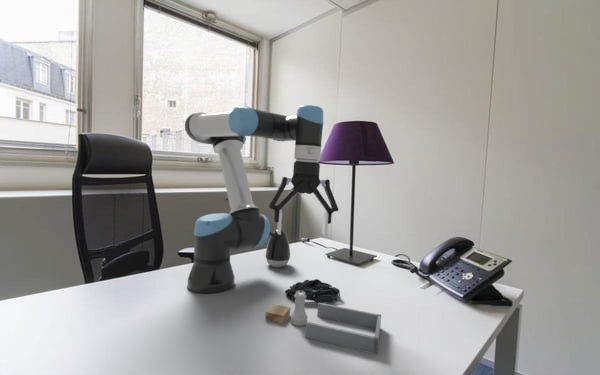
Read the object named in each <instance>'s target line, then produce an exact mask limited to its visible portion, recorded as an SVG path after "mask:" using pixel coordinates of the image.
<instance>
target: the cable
mask: <svg viewBox="0 0 600 375" xmlns="http://www.w3.org/2000/svg"><path fill="white" fill-rule="evenodd" d="M308 288H312V289H317V290H312V289H308ZM296 291H300V292H302V291H304V292H305V295H306V296H307V297H306V298H305V301H312V302H314V303H316V304H318V303H324V304H331V303H334V302H335V301H338V299H339V298H340V297H341V294H340V289H339V288H338V287H335V286H332V285H331V284H330V283H327V282H322V280H320V279H317V278H315V279H312V280H309V279H304V281H303V282H302V281H301V282H300V281H299V282H296V283H295V284H293V285H291V286H289V288H287V289H285V295H290V298H291V299H292V300H294V301H295V300H296V298H295V297H294V295H295V294H296ZM304 292H303V293H304Z"/></svg>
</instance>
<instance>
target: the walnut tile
mask: <svg viewBox="0 0 600 375" xmlns="http://www.w3.org/2000/svg"><path fill="white" fill-rule="evenodd" d="M289 317H291V307H290V306H285V305H281V304H276V303H273V304H272V305H271V306H270V307H269V308H268V309H267V310H265V321H269V322H273V323H277V324H282V325H284V324H285V322H286V321H287V320H288V319H289Z"/></svg>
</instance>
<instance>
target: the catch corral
mask: <svg viewBox="0 0 600 375" xmlns="http://www.w3.org/2000/svg"><path fill="white" fill-rule="evenodd" d="M317 317H319V318H324V319H330V320H333V321H334V320H335V321H339V322H344V323H347V324H348V323H349V324H354V325H358V326H363V327H365V328H366V327H368V328H371V329H375V332H374V336H373V335H368V334H364V333H360V332H355V331H353V330H352V331H351V330H347V329H342V328H337V327H333V326H328V325H324V324H319V323H315V322H311V321H307V322H306V324H305V327H304V328H305V331H304V337H305V338H307V339H312V340H316V341H319V342H323V343H328V344H331V345H336V346H340V347H344V348H348V349H353V350H356V351H361V352H364V353H368V354H373V355H378V350H379V343H380V341H379V340H380V334H381V333H380V332H381V324H382V314H378V313H374V312H369V311H364V310H359V309H353V308H348V307H344V306H337V305H333V304H330V303H317Z"/></svg>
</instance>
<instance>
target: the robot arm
mask: <svg viewBox="0 0 600 375" xmlns="http://www.w3.org/2000/svg"><path fill="white" fill-rule="evenodd" d="M323 127H324V110H323V108H322V107H321V106H317V105H310V104H304V105H303V104H302V105H300V106H298V107H297V112H296V114H295V115H284V114H280V113H279V114H278V113H274V112H269V111H264V110H259V109H256V108H253V107H249V106H240V105H237V106H235V107H234V108H233V109H232V110H231V111H226V112H218V113H207V112H202V111H201V112H199V111H198V112H194V113H191V114H190V115H188V116H187V118H186V119H185V122H184V129H185V130H184V131H185V133H186V135H187V136H188V137H189V138H190V139H191V140H192V141H195V142H197V143H200V144H205V145H212V147H213V152H214V153H215V154H217V155H218V156H219V162H220V166H221V170H222V175H223V179H224V183H225V184H224V186H225V189H226V194H227V198H228V203H229V208H230V211H229V213H224V212H223V213H222V212H221V213H209V214H205V215H203V216H200V217H199V218H197V220H196V221H195V225H194V231H193V234H194V244H193V246H194V250H193V264H192V267H191V269H190V272H189V276H188V278H187V288H188V290H190V291H192V292H194V293H199V294H215V293H221V292H225V291H229V290H230V289H231V288H233V287H234V285H235V280H236V279H235V274H234V269H233V266H232V264H231V263H232V262H231V252H234V251H238V250H239V251H240V250H244V249H245V250H246V249H250V248H251V249H254V248H257V247H260V246H263V245H265V244H266V242H267V241H268V240H269V236H270V235H269V233H270V232H271V225H270V221H269V219H268V217H267V216H266V215H265V214H261V212H260V209H259V207H258V206H256V205H255V204H254V200H253V197H252V193H251V188H250V183H249V180H248V176H247V172H246V167H245V164H244V159H243V156H242V152H241V150H242V149H243V147H244V144H245V142H246V138H247V137H256V138H263V139H269V140H273V141H276V142H289V141H290V142H291V141H293V142H294V141H295V142H294V155H293V156H294V160H295V161H294V162H293V169H292V170H293V171H292V172H293V174H292V177H286V176H282V177H281V182H280V185H279V186H278V188H277V190H276V191H275V194H273V197H272V198H271V200H270V201H269V203H268V207H269V209H271V210H273V211H274V217H273V220H274V223H277V226H276V228H277V229H276V230H277V233H278V234H281V230H282V220H283V219H282V218H283V211H282V208H284V206H285V205H286V204H287V203H288V202H289V201H290V200H291V199H292V198H293V197H294V196H295V195H296V194H297V193H299V194H309V195H311V194H313V195H314V196H315V197H316V198H317V200H318V201H319V203H320V204H321V205H322V207H323V208H324V209H325V211H323V216H322V230H321V234H322V235H323V236H328V227H329V226H328V225H331V223H332V215H333V213H335V212H338V211H339V206H338V205H337V202H336V199H335V196H334V194H333V192H332V189H331V185H330V184H331V180H329V179H327V178H324V179H320V170H321V169H320V168H321V164H320V161H321V156H322V155H321V153H322V139H323V138H322V137H323V129H324V128H323ZM290 183H291V184H292V188H291V189H290V191H288V193H286V194H285V196H284V197H283V198H282V199H281V200H279V199H280V198H281V195H282V193H283V192H284V190H285V189H286V186H287V185H289V184H290ZM320 185H321V187H323V189H324V191H325V194H326V197H327V199H328V201H329V204H330V205H329V204H328V203H327V201H326V200H325V198H324V197H323V196H322V194H321V192H320V191H319V190H318V187H319V186H320ZM278 201H279V202H278ZM277 202H278V204H277Z"/></svg>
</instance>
